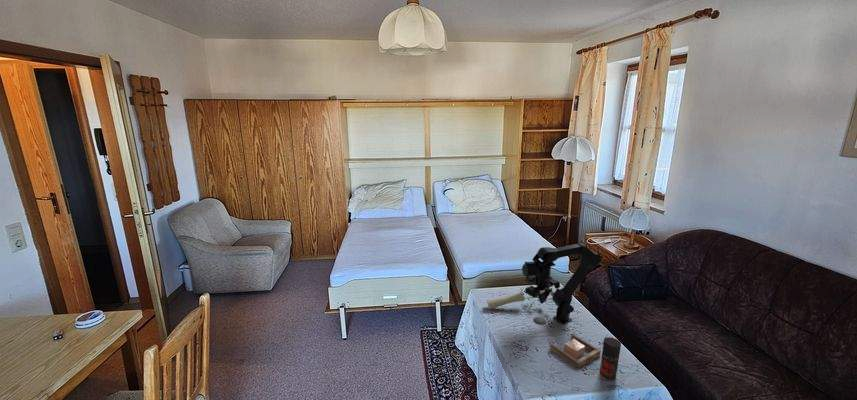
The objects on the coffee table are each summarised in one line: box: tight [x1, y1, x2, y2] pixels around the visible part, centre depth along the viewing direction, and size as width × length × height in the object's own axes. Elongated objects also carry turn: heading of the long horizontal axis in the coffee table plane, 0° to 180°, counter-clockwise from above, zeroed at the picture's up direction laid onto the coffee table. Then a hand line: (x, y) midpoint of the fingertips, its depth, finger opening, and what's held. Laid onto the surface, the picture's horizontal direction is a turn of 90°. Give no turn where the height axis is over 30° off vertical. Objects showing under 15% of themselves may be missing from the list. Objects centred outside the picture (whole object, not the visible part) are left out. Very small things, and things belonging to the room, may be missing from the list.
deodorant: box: [599, 336, 622, 381], centre depth 141 cm, size 6×6×15 cm
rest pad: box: [533, 316, 547, 325], centre depth 178 cm, size 6×6×1 cm
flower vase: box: [486, 287, 555, 310], centre depth 189 cm, size 12×12×35 cm
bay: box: [550, 333, 602, 369], centre depth 155 cm, size 15×14×2 cm
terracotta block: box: [563, 339, 586, 360], centre depth 155 cm, size 6×6×4 cm
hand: (541, 303), depth 175 cm, fingers closed
